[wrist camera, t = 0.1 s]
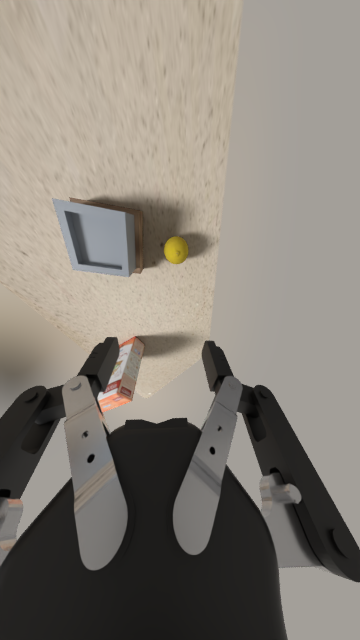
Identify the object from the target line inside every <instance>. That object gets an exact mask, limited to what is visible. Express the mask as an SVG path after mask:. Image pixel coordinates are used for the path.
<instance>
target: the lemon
mask: <svg viewBox="0 0 360 640" xmlns="http://www.w3.org/2000/svg"><path fill="white" fill-rule="evenodd" d="M164 254H165V257H166V258H167V260H168V261H169V262H171V263H173V264H180V263H182V262H184V261H185V259H186V258H187V256H188V245H187V243H186V241H185V240H184V239H183V238H181V237H178V236H175V237H171V238H170V239H168V240H167V242H166V244H165V246H164Z"/></svg>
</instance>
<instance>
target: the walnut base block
mask: <svg viewBox="0 0 360 640" xmlns="http://www.w3.org/2000/svg"><path fill="white" fill-rule="evenodd" d="M69 198H70V197H69ZM70 202H74V203H79V204H84V205H89V206H95V207H100V208H105V209H110V210H115V211H121V212H125V213H129V214H132V215H134V225H135V254H136V269H135V270H134V272H133V273H139V274H141V272H142V270H143V212H141V211H139V210H135V209H130V208H124V207H119V206H114V205H108V204H103V203H97V202H92V201H86V200H81V199H75V198H70Z"/></svg>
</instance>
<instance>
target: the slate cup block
mask: <svg viewBox="0 0 360 640" xmlns="http://www.w3.org/2000/svg"><path fill="white" fill-rule="evenodd" d="M52 200H53V204H54V207H55V211H56V214H57V217H58V221H59V224H60V227H61V231H62V234H63V238H64V241H65V244H66V248H67V251H68V255H69V258H70V261H71V265H72V268H73V270H77V271H85V272H93V273H101V274H108V275H116V276H124V277H130V275H131V274H132V273H133V272H134V270H135V269H136V254H135V225H134V215H132V214H129V213H125V212H121V211H115V210H110V209H105V208H100V207H95V206H89V205H84V204H79V203H74V202H69V201H64V200H58V199H53V198H52Z"/></svg>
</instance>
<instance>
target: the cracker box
mask: <svg viewBox="0 0 360 640" xmlns="http://www.w3.org/2000/svg"><path fill="white" fill-rule="evenodd" d="M144 346H145V345H144V344H143V343H142V342H141V341H140V340H139V339H138V338H136V337H133V338H132V339H130V340H128V341H126V342H124V343H123V344H121V345H119V349H120V353H119V357H118V360H117V362H116V365H115V367H114V370H113V372H112V375H111V378H110V380H109V383H108V385H107V388H106V390H105V392H100V393H99V395H98V397H97V398H98V401H99V404H100V407H101V409H102V412H105V411H107V410H110V409H113V408H115V407H118V406H120V405H123V404H125V403H128V402H130V401H132V398H133V394H134V390H135V385H136V381H137V377H138V372H139V368H140V363H141V359H142V355H143V350H144Z"/></svg>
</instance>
